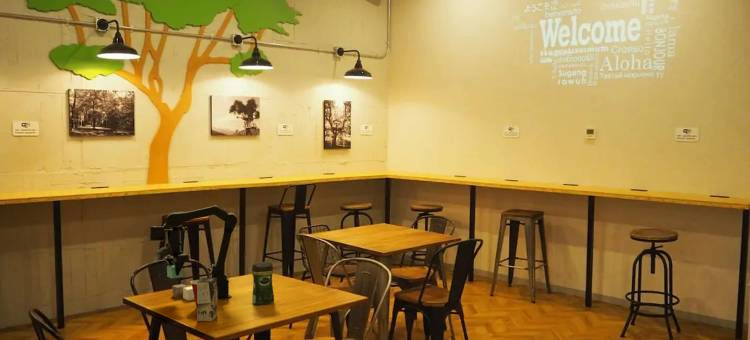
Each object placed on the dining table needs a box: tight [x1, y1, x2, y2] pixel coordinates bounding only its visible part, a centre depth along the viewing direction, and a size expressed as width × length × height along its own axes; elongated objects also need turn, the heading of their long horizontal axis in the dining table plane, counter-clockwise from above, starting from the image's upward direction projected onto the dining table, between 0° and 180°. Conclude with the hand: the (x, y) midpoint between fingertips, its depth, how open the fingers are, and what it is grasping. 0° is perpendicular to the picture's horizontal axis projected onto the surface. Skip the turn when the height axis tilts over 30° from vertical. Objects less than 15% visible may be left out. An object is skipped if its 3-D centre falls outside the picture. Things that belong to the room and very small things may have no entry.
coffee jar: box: [251, 261, 275, 306], centre depth 306 cm, size 10×8×19 cm
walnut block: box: [172, 283, 188, 299], centre depth 319 cm, size 5×5×5 cm
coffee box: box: [196, 277, 219, 322], centre depth 282 cm, size 9×6×16 cm
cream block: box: [182, 285, 195, 301], centre depth 315 cm, size 5×5×5 cm
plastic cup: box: [190, 279, 200, 309], centre depth 298 cm, size 11×11×12 cm
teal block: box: [166, 265, 183, 279], centre depth 310 cm, size 5×5×5 cm
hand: (174, 274), depth 310 cm, fingers closed on teal block, 5 cm apart
